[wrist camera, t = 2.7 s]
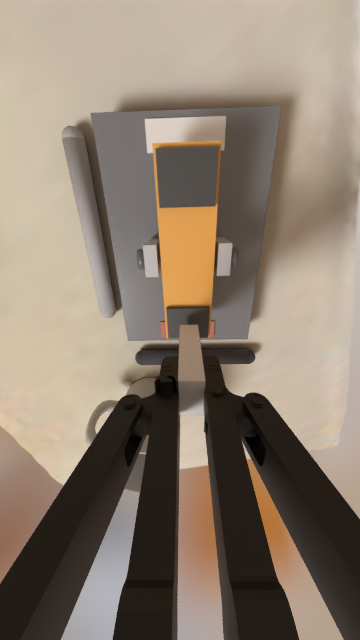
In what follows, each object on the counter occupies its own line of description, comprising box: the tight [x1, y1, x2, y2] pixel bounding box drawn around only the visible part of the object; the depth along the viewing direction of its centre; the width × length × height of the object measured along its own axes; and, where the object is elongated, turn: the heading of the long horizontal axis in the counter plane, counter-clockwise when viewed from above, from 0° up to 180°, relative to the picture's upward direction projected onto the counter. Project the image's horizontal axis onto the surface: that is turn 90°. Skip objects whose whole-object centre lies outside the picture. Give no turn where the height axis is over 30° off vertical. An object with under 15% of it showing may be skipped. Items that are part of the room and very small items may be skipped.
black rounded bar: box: [135, 349, 255, 365], centre depth 28 cm, size 2×16×2 cm, turn 91°
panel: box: [91, 106, 282, 341], centre depth 19 cm, size 20×14×8 cm
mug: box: [85, 378, 180, 493], centre depth 28 cm, size 12×8×11 cm
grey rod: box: [62, 126, 116, 318], centre depth 21 cm, size 18×2×2 cm, turn 1°
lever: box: [152, 141, 221, 338], centre depth 17 cm, size 14×4×3 cm, turn 1°
